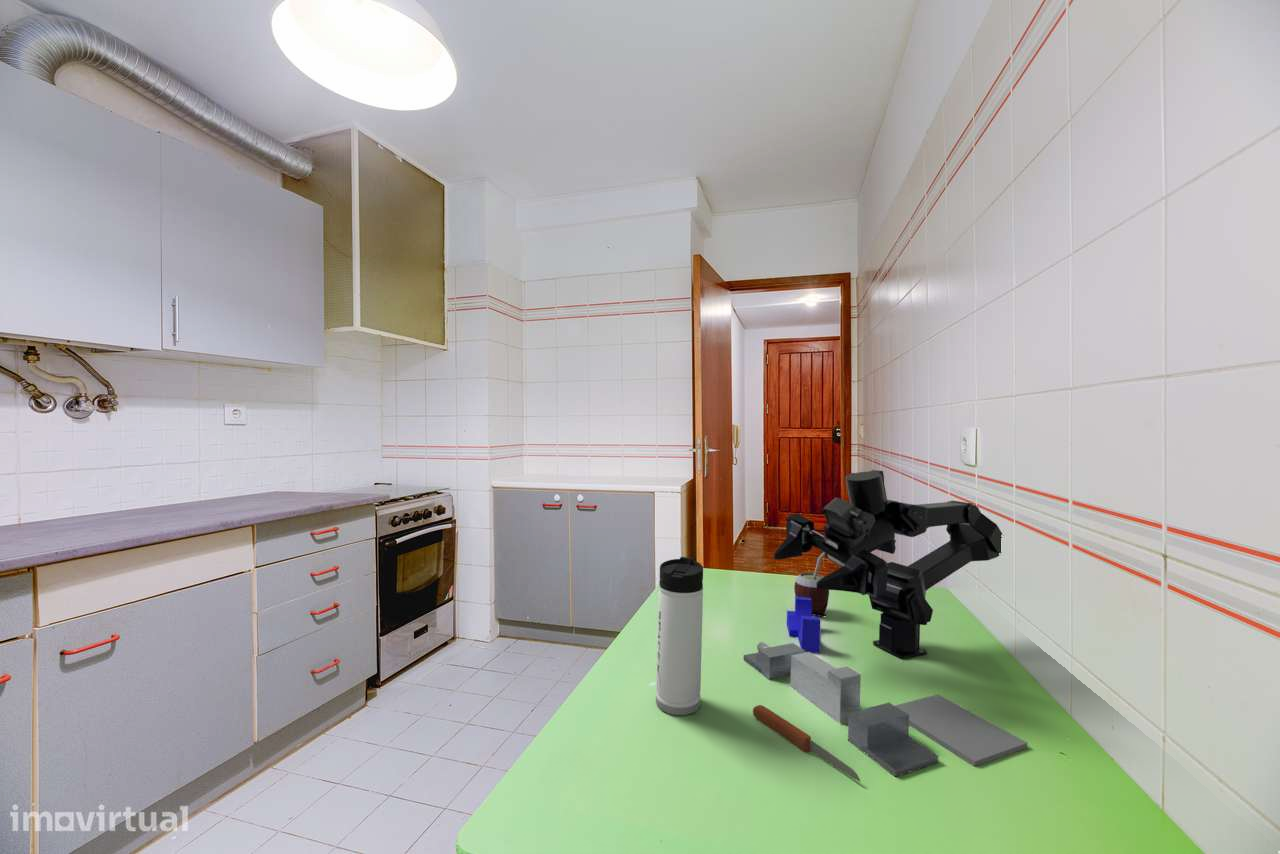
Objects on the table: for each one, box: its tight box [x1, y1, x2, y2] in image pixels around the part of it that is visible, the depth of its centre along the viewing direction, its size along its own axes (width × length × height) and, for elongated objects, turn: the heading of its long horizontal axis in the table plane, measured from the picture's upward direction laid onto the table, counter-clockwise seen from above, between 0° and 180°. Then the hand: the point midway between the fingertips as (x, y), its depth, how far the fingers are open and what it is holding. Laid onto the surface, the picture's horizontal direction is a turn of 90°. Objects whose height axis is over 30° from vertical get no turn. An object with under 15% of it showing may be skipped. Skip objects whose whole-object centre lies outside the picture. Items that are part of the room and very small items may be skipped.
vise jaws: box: [743, 641, 939, 777], centre depth 71 cm, size 7×30×4 cm, turn 22°
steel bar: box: [789, 652, 862, 724], centre depth 71 cm, size 4×10×6 cm, turn 22°
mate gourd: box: [793, 552, 830, 617], centre depth 106 cm, size 8×8×15 cm
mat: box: [894, 694, 1028, 767], centre depth 66 cm, size 10×12×1 cm
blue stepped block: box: [786, 596, 821, 654], centre depth 93 cm, size 12×4×6 cm, turn 169°
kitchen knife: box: [752, 704, 861, 782], centre depth 61 cm, size 16×1×2 cm, turn 33°
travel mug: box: [655, 556, 704, 716], centre depth 70 cm, size 6×7×20 cm
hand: (794, 570), depth 78 cm, fingers open, 9 cm apart
